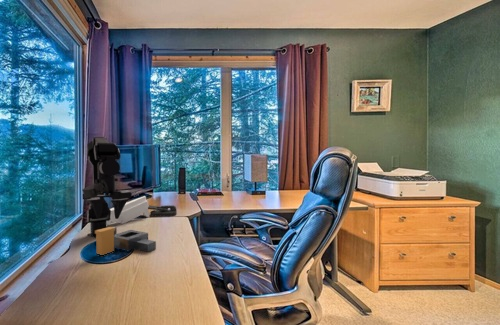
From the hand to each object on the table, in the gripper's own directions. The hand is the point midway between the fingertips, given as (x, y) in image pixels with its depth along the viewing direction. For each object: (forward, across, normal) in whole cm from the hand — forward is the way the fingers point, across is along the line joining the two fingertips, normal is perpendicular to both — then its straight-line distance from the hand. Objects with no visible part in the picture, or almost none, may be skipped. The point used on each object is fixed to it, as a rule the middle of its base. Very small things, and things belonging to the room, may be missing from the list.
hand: (107, 218), depth 104 cm
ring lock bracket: (+12, -2, +10) cm, 16 cm away
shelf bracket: (+9, -30, +39) cm, 50 cm away
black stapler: (+9, -27, +57) cm, 63 cm away
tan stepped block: (+13, -1, 0) cm, 13 cm away
